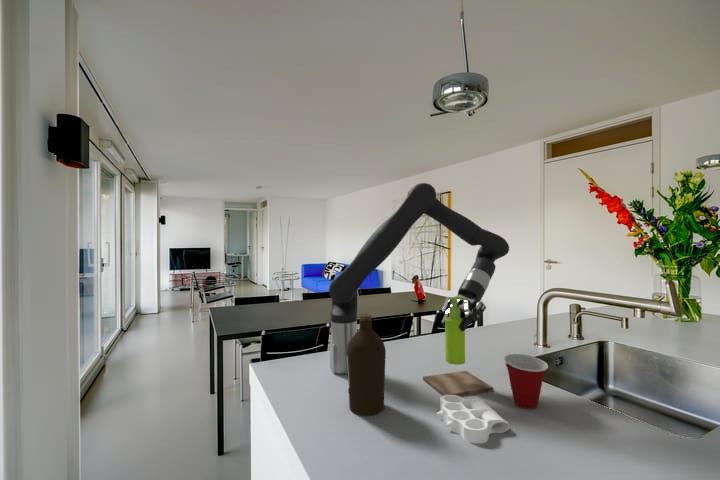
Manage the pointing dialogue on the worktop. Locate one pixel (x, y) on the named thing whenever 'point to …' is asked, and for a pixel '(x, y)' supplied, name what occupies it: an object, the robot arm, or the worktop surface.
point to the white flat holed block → (471, 418)
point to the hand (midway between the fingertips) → (452, 327)
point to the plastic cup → (525, 378)
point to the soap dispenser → (454, 334)
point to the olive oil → (366, 369)
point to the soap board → (457, 383)
